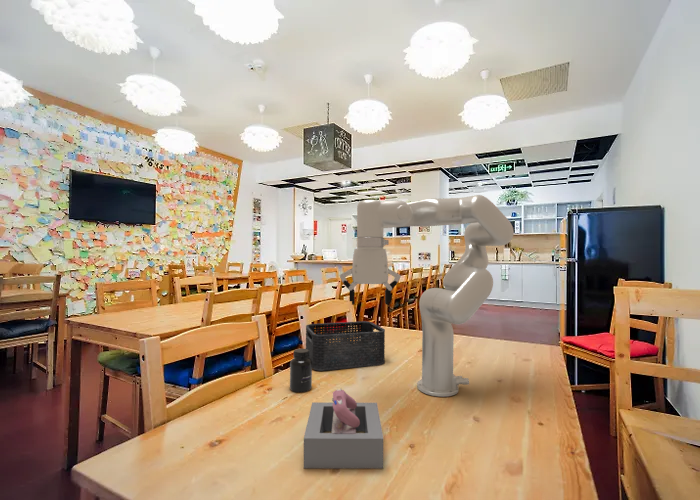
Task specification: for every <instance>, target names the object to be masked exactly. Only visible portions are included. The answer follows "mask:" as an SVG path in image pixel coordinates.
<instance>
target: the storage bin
mask: <svg viewBox="0 0 700 500" xmlns="http://www.w3.org/2000/svg"><path fill="white" fill-rule="evenodd" d="M374 329H375V330H376V331H374ZM385 333H386V330H385V329H384V328H383V327H381V326H379V325H378V324H376V323H374V322H372V321H366V320H365V321H364V320H363V321H346V322H345V321H344V322H327V323H326V322H323V323H310V324H306V325H305V349H308V350H309V357H308V358H310V359H311V361H312V370H314V371H320V372H321V371H325V372H326V371H327V372H328V371H336V370H346V369H355V368H357V369H358V368H368V367H375V366H376V367H377V366H381V365H385V352H386V351H385V342H386V341H385V338H386V337H385Z"/></svg>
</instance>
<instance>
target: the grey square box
mask: <svg viewBox="0 0 700 500" xmlns="http://www.w3.org/2000/svg"><path fill="white" fill-rule="evenodd" d="M333 403H334V402H317V401H316V402H311V406H310V411H309V414H308V418H307V419H308V420H307V423H306V427H305V432H304V436H303V469H384V435H383V430H382V422H381V419H380V413H379V406H378V402H356V403H357V407H356V408H355V415H356V416H357V417H358V419H359V421H360V425H359V426H358V427H356V433H354V434H345V433H342V434H340V433H339V434H334V433H332V424H333V413H334V409H333V405H332V404H333ZM361 432H363V433H361ZM364 432H365V433H364Z"/></svg>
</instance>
